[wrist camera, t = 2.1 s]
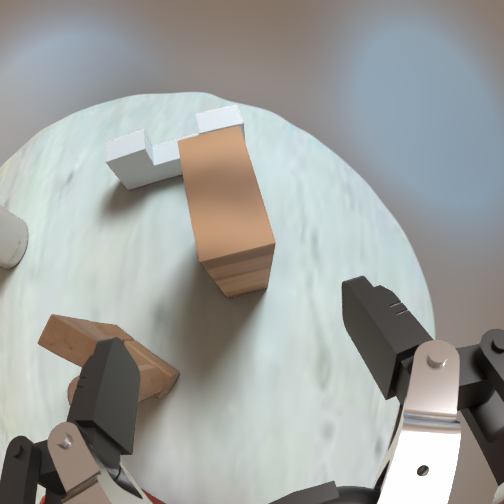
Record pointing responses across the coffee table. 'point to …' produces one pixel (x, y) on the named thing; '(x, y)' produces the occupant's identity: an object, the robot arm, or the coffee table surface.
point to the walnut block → (227, 211)
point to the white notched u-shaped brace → (161, 150)
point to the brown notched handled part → (83, 345)
